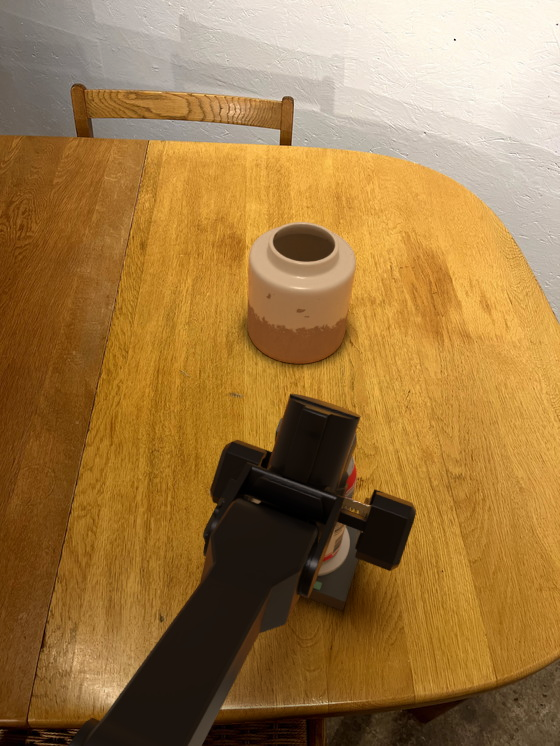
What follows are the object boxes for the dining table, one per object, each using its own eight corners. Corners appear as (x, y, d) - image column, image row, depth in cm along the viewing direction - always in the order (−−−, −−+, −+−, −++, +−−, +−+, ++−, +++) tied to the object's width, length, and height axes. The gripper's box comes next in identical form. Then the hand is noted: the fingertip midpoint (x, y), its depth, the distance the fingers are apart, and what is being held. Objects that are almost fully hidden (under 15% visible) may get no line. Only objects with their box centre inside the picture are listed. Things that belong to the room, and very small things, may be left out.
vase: (363, 344, 100) (381, 258, 88) (277, 378, 95) (282, 290, 83) (312, 287, 109) (322, 200, 97) (230, 314, 104) (229, 226, 91)
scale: (342, 611, 72) (346, 599, 70) (250, 576, 74) (250, 564, 72) (367, 528, 79) (371, 515, 77) (283, 499, 81) (284, 485, 79)
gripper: (435, 466, 51) (435, 444, 66) (220, 391, 55) (266, 387, 70) (391, 598, 52) (401, 546, 67) (182, 514, 56) (236, 484, 71)
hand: (325, 487), depth 69 cm, fingers open, 9 cm apart
